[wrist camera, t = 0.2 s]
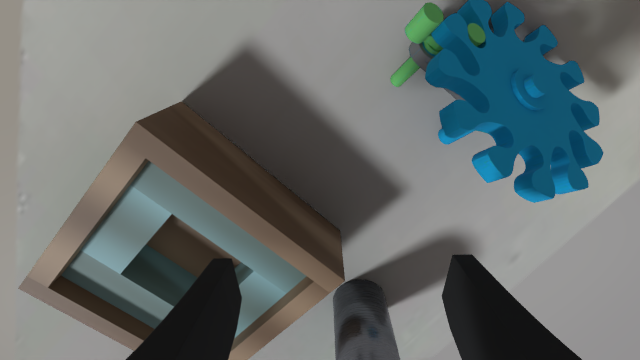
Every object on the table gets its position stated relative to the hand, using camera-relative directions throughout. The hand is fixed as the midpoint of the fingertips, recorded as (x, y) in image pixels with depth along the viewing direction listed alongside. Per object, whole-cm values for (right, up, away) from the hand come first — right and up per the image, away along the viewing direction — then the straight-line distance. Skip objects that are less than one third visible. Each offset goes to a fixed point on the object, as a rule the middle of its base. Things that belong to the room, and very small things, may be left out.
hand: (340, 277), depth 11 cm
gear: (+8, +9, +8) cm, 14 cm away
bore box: (-9, -1, +12) cm, 14 cm away
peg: (+2, -6, +14) cm, 16 cm away
